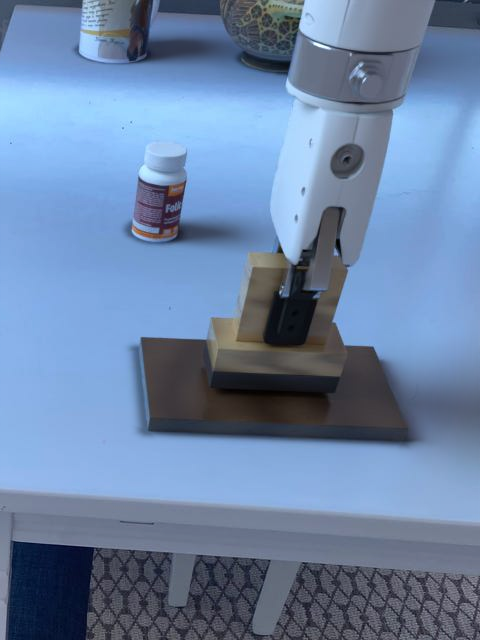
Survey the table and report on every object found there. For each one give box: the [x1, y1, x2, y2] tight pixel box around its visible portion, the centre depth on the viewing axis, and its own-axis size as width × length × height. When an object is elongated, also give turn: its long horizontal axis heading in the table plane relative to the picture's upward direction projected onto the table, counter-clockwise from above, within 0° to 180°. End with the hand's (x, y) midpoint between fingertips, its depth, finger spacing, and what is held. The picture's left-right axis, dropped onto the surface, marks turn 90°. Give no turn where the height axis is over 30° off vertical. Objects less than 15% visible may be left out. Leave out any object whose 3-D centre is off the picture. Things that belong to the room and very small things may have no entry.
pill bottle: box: [131, 140, 188, 243], centre depth 94 cm, size 5×5×8 cm
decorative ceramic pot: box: [219, 0, 305, 73], centre depth 129 cm, size 24×18×15 cm
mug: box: [78, 0, 161, 64], centre depth 132 cm, size 10×12×11 cm
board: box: [138, 336, 409, 442], centre depth 77 cm, size 20×12×2 cm, turn 88°
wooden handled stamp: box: [203, 251, 349, 393], centre depth 73 cm, size 10×5×10 cm, turn 88°
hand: (280, 330), depth 73 cm, fingers closed on wooden handled stamp, 2 cm apart
